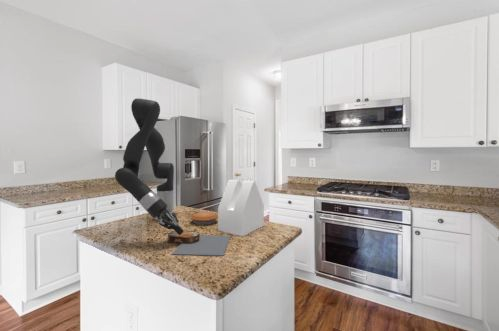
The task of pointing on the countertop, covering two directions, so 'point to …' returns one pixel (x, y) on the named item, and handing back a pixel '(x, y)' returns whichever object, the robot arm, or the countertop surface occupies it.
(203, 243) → the mat
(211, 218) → the pie
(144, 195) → the robot arm
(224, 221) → the milk carton
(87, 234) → the countertop surface
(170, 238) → the tin
